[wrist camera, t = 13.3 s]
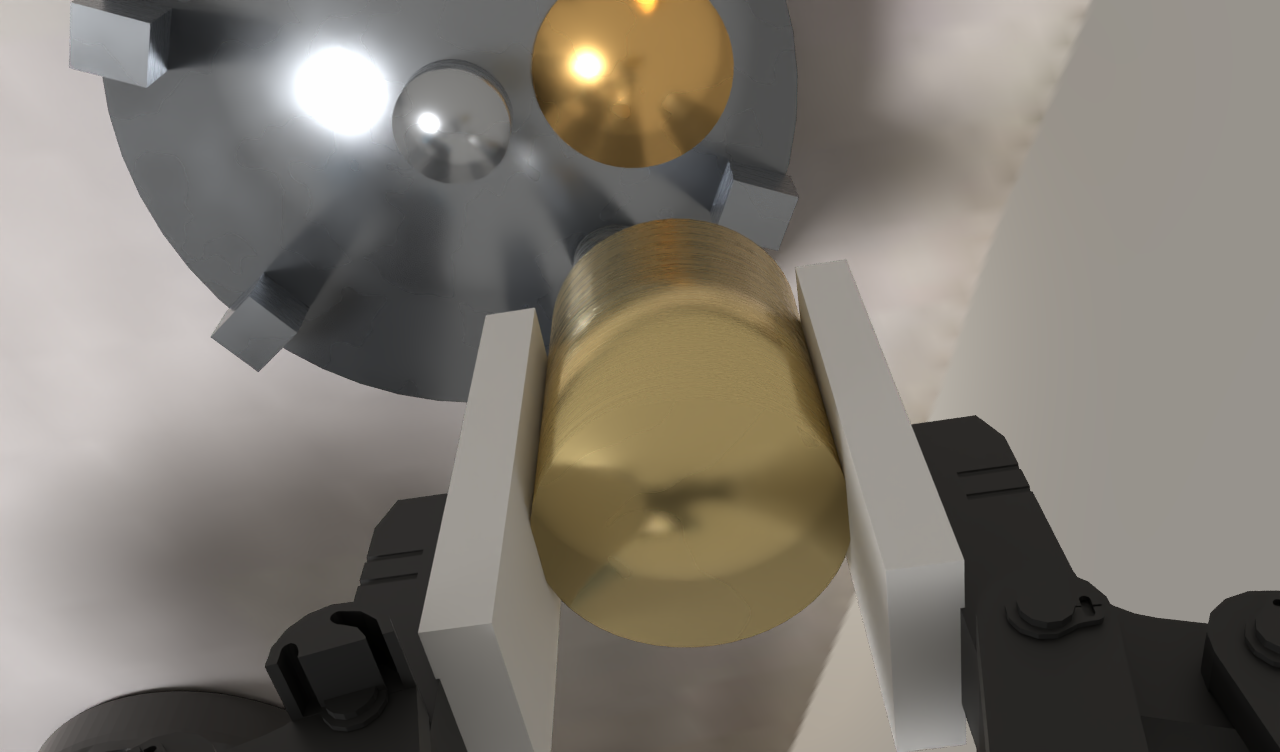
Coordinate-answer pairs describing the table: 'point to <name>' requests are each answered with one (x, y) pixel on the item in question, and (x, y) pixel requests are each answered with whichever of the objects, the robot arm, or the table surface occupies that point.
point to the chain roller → (684, 442)
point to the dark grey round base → (433, 155)
